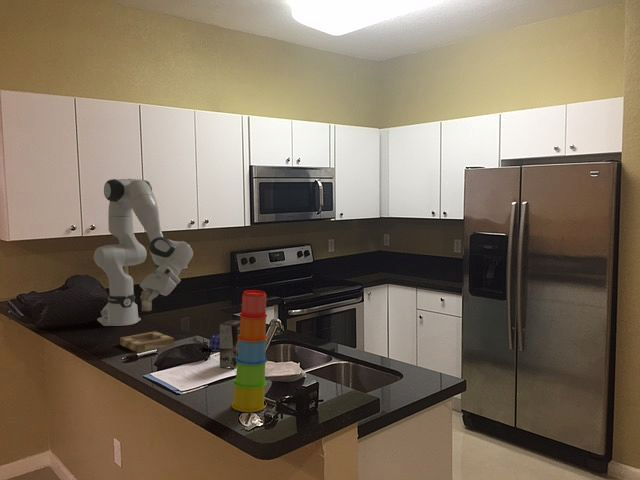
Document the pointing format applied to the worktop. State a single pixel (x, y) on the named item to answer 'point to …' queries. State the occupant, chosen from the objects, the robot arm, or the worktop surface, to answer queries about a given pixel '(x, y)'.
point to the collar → (146, 341)
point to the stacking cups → (251, 354)
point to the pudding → (214, 342)
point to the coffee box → (229, 343)
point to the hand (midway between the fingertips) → (145, 299)
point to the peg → (146, 301)
